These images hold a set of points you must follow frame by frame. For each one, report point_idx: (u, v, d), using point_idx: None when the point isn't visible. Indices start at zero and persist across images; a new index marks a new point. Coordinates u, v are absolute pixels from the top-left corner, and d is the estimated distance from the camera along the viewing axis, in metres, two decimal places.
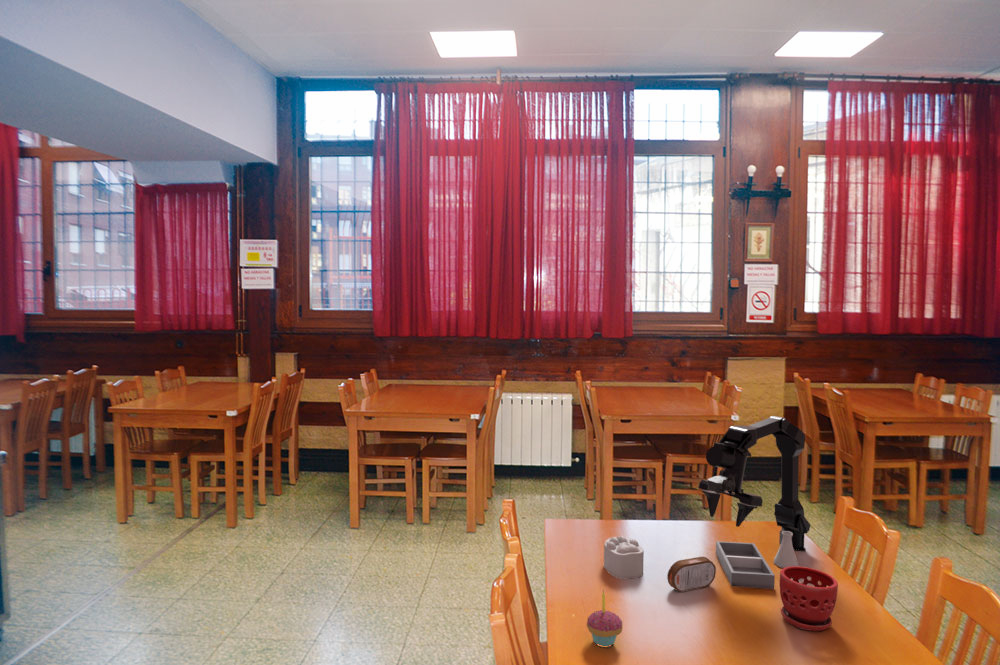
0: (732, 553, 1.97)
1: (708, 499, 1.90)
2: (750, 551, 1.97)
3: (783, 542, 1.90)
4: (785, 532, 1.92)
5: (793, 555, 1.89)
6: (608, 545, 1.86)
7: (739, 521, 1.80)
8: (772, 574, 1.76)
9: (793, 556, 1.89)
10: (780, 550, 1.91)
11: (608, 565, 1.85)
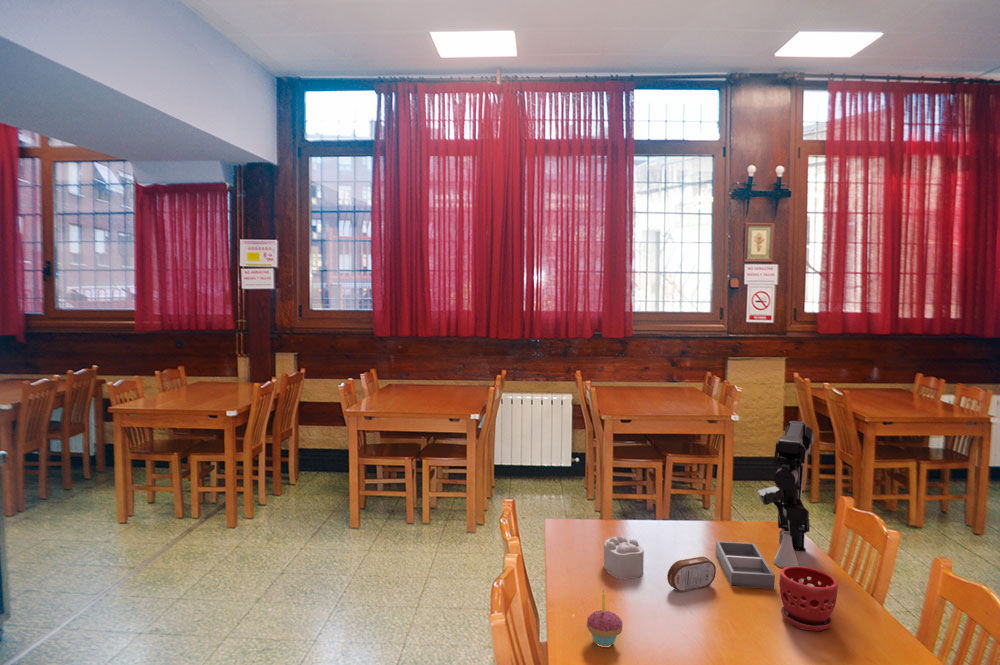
0: (732, 553, 1.97)
1: (777, 508, 1.96)
2: (750, 551, 1.97)
3: (783, 542, 1.90)
4: (785, 532, 1.92)
5: (793, 555, 1.89)
6: (608, 545, 1.86)
7: (791, 531, 1.86)
8: (772, 574, 1.76)
9: (793, 556, 1.89)
10: (780, 550, 1.91)
11: (608, 565, 1.85)
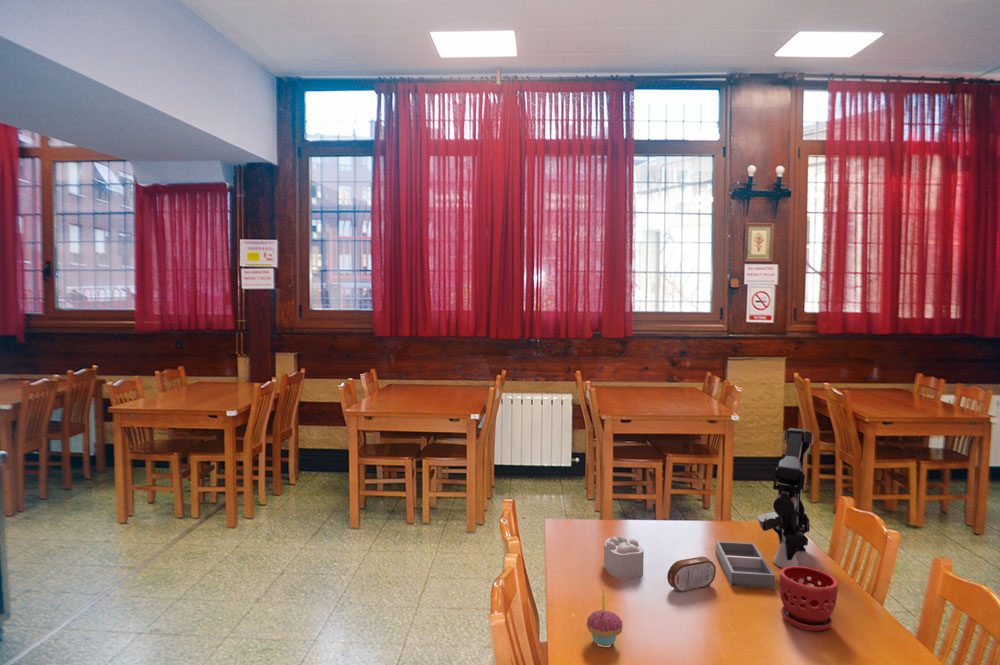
0: (732, 553, 1.97)
1: (778, 535, 1.95)
2: (750, 551, 1.97)
3: (783, 542, 1.90)
4: None
5: None
6: (608, 545, 1.86)
7: (788, 555, 1.88)
8: (772, 574, 1.76)
9: (793, 556, 1.89)
10: (780, 550, 1.91)
11: (608, 565, 1.85)
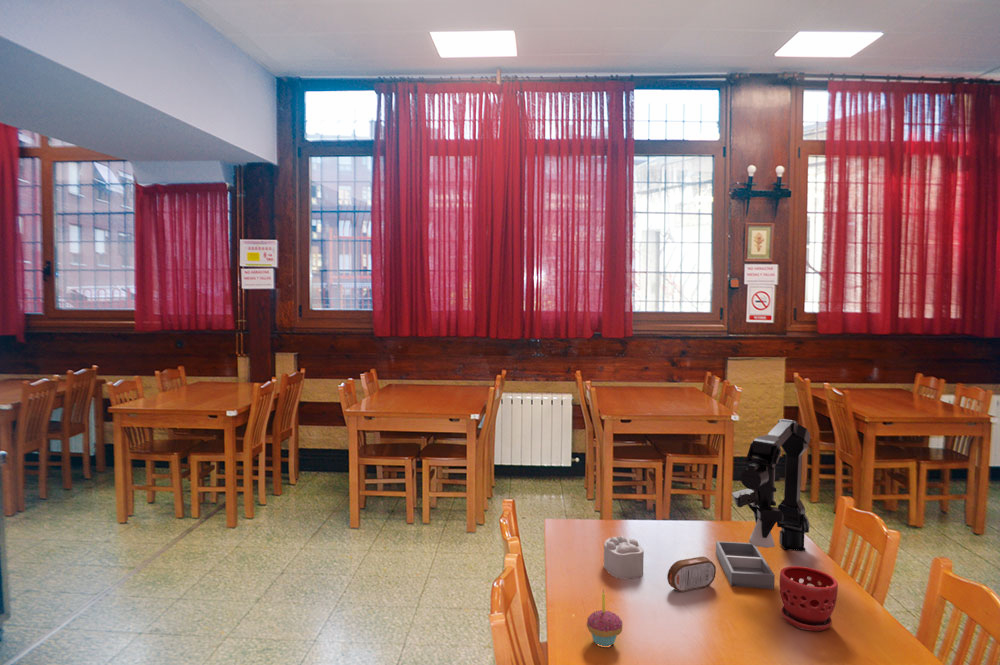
0: (732, 553, 1.97)
1: None
2: (750, 551, 1.97)
3: (759, 520, 1.83)
4: None
5: (769, 533, 1.82)
6: (608, 545, 1.86)
7: (763, 532, 1.81)
8: (772, 574, 1.76)
9: (769, 534, 1.82)
10: (755, 528, 1.84)
11: (608, 565, 1.85)
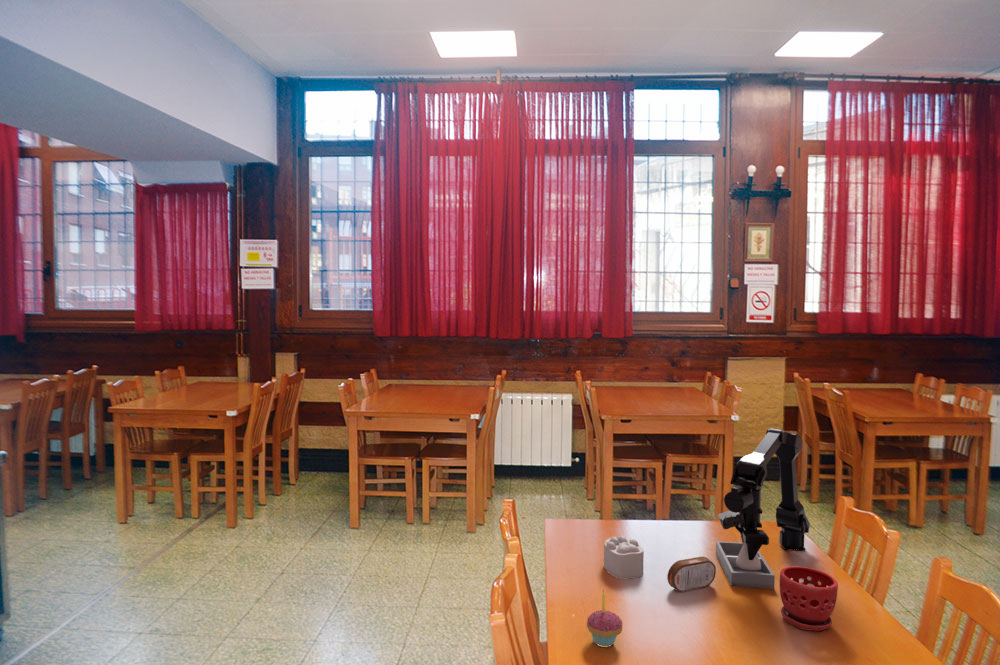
0: (732, 553, 1.97)
1: (740, 534, 1.85)
2: None
3: None
4: None
5: (755, 556, 1.80)
6: (608, 545, 1.86)
7: (750, 555, 1.78)
8: (772, 574, 1.76)
9: (755, 557, 1.80)
10: (742, 551, 1.81)
11: (608, 565, 1.85)
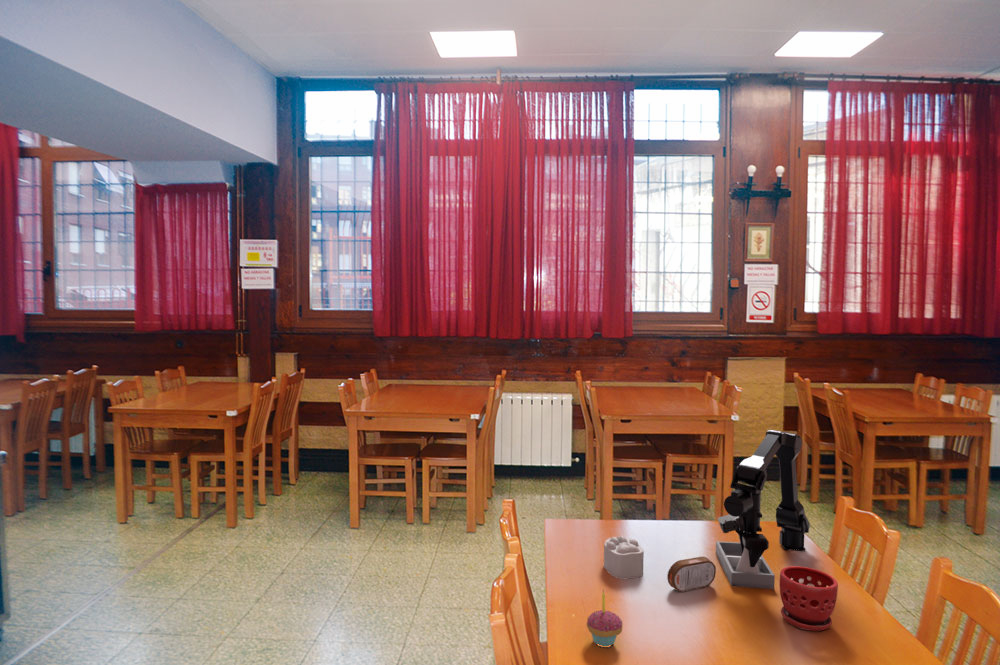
0: (732, 553, 1.97)
1: None
2: None
3: (745, 551, 1.81)
4: None
5: (755, 565, 1.80)
6: (608, 545, 1.86)
7: (751, 562, 1.77)
8: (772, 574, 1.76)
9: (755, 566, 1.80)
10: (742, 560, 1.81)
11: (608, 565, 1.85)
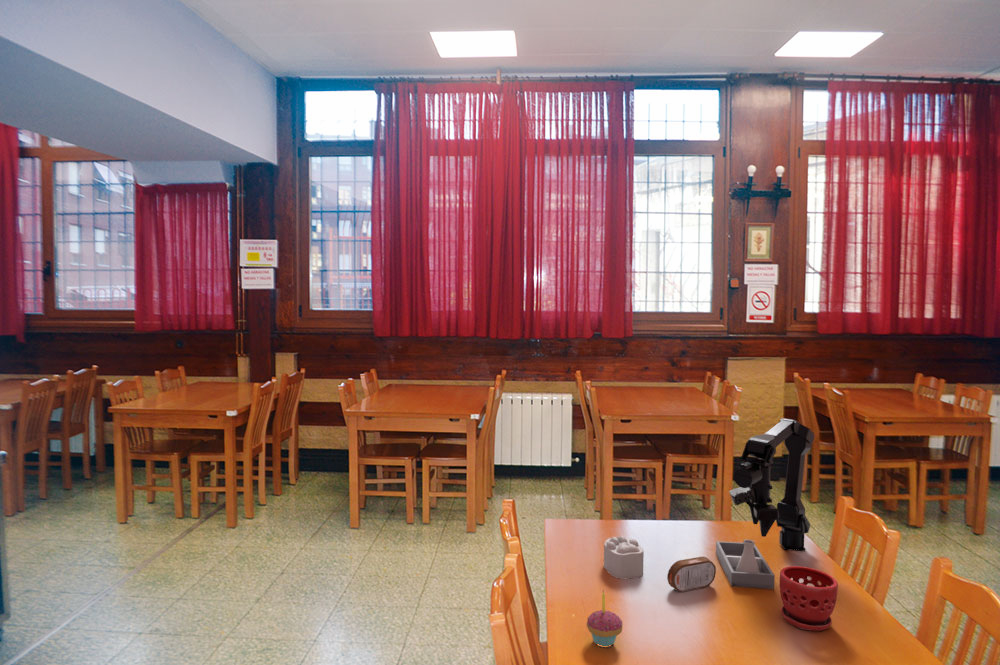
0: (732, 553, 1.97)
1: (749, 507, 1.95)
2: None
3: (745, 551, 1.81)
4: (747, 541, 1.83)
5: (755, 565, 1.80)
6: (608, 545, 1.86)
7: (762, 531, 1.84)
8: (772, 574, 1.76)
9: (755, 566, 1.80)
10: (742, 560, 1.81)
11: (608, 565, 1.85)
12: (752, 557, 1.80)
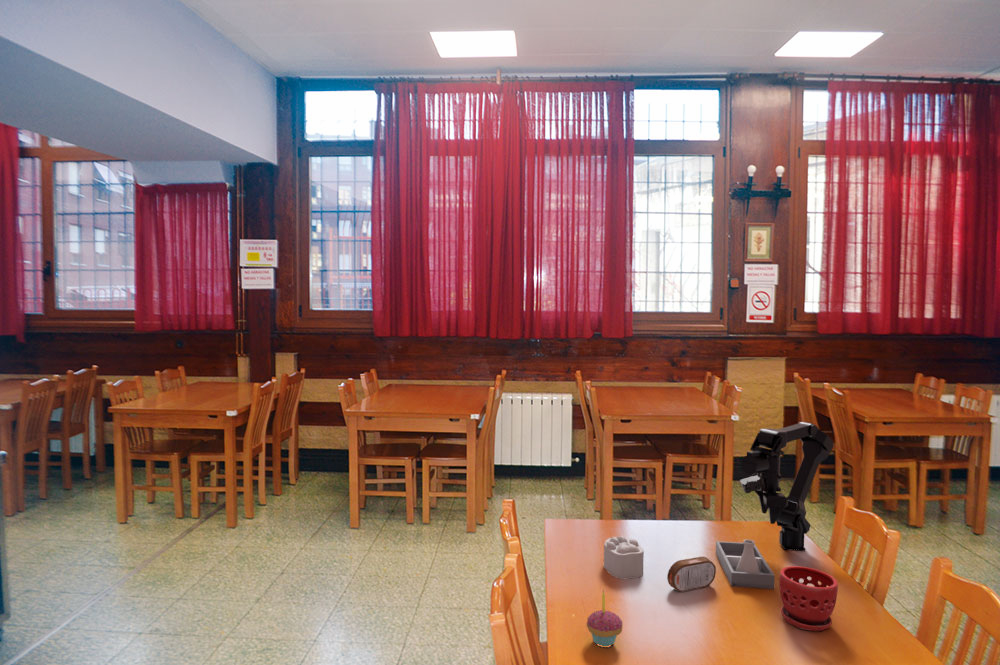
0: (732, 553, 1.97)
1: None
2: None
3: (745, 551, 1.81)
4: (747, 541, 1.83)
5: (755, 565, 1.80)
6: (608, 545, 1.86)
7: (771, 519, 1.92)
8: (772, 574, 1.76)
9: (755, 566, 1.80)
10: (742, 560, 1.81)
11: (608, 565, 1.85)
12: (752, 557, 1.80)
